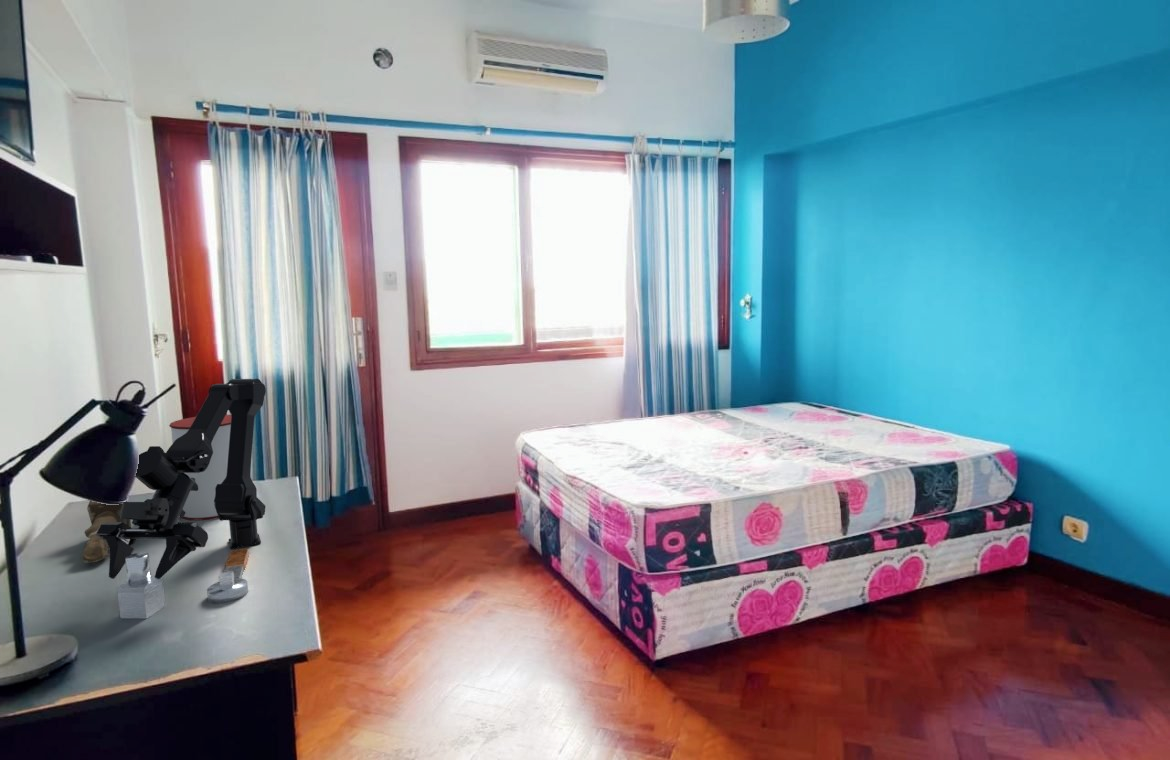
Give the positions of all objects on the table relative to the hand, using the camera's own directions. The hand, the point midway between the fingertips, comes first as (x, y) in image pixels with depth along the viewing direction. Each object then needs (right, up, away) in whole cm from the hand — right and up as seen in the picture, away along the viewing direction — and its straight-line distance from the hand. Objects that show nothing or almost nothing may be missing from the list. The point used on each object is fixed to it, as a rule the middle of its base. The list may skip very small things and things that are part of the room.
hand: (134, 578), depth 121 cm
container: (-19, +1, +60) cm, 63 cm away
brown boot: (-29, -4, +33) cm, 44 cm away
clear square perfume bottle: (0, -7, +2) cm, 7 cm away
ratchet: (+10, -5, +16) cm, 19 cm away
